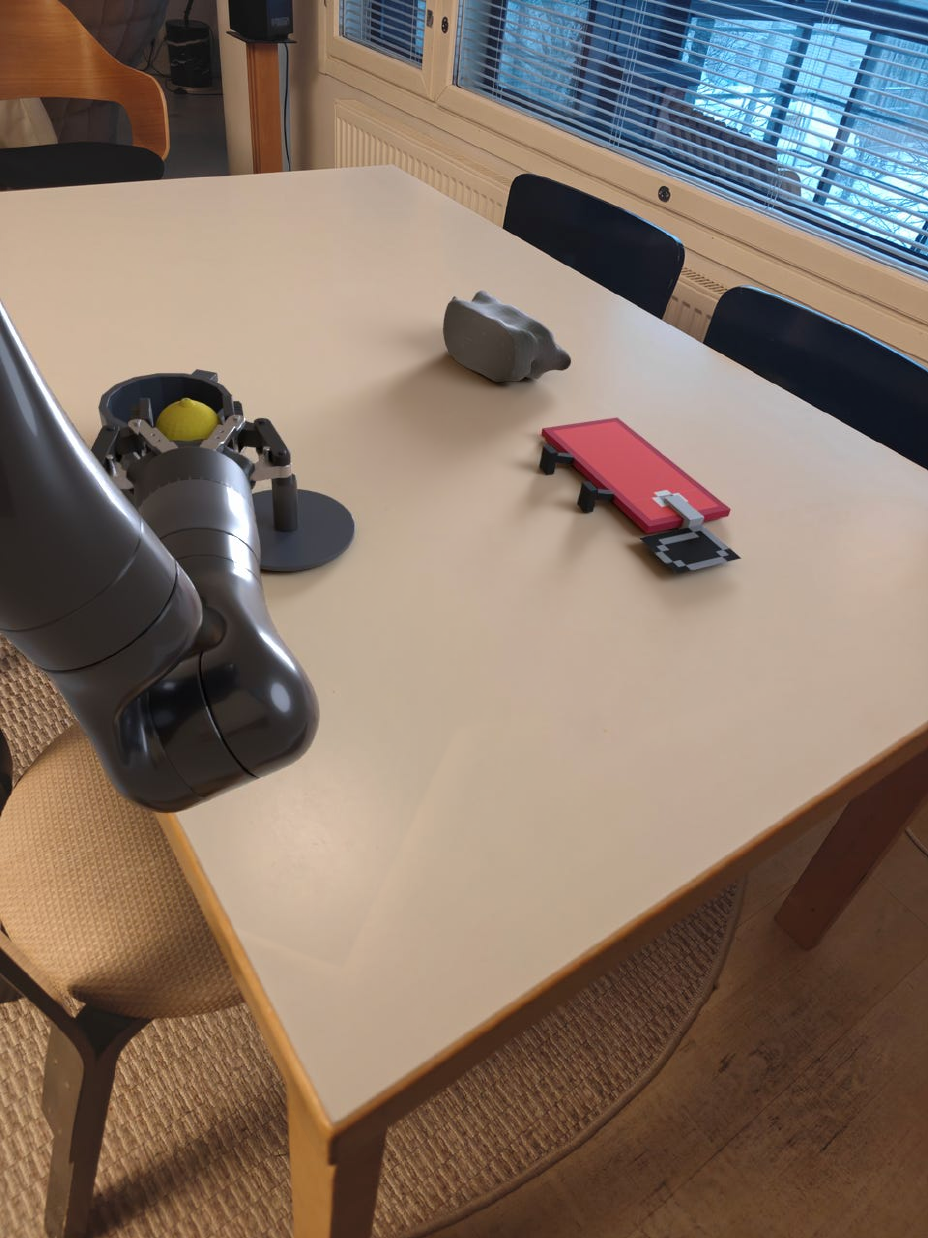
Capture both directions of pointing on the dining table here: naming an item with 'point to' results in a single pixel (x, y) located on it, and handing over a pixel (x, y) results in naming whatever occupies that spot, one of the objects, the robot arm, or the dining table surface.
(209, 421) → the lemon
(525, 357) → the rock
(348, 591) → the dining table surface
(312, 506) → the pot lid
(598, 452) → the red board with handle
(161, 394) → the pot
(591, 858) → the dining table surface
